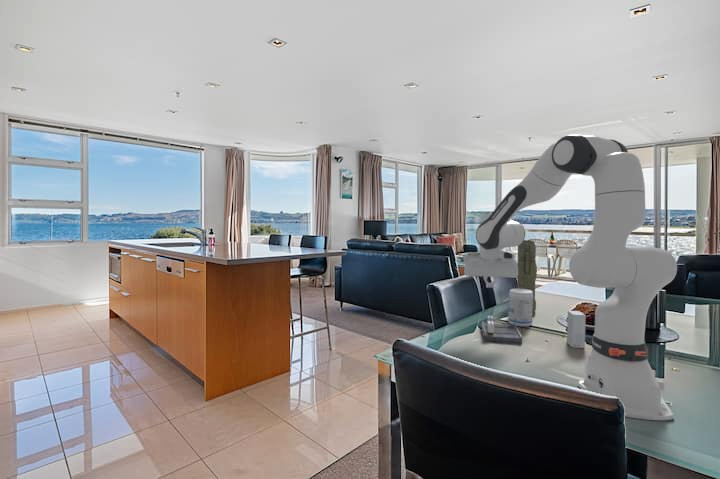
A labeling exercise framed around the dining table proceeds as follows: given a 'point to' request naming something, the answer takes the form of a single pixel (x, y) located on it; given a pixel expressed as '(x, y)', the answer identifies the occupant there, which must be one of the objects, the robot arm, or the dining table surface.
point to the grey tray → (502, 333)
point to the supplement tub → (520, 307)
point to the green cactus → (527, 268)
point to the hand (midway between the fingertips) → (490, 287)
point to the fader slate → (490, 319)
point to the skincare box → (576, 329)
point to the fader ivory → (490, 327)
